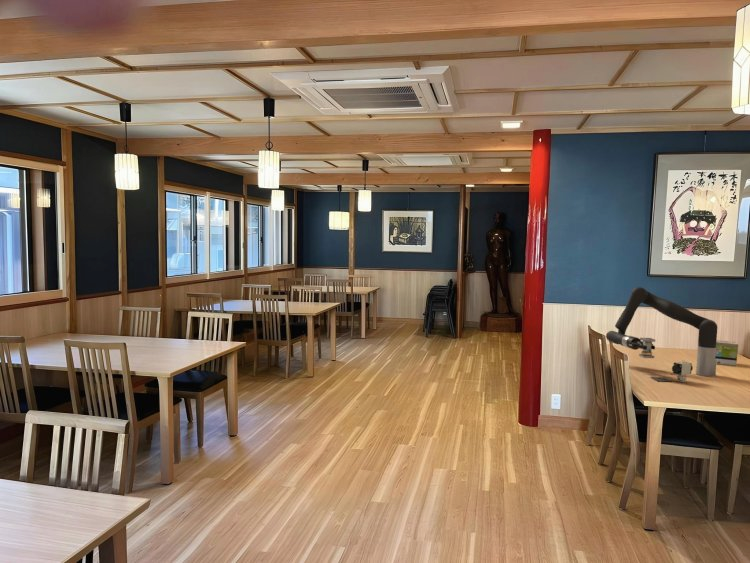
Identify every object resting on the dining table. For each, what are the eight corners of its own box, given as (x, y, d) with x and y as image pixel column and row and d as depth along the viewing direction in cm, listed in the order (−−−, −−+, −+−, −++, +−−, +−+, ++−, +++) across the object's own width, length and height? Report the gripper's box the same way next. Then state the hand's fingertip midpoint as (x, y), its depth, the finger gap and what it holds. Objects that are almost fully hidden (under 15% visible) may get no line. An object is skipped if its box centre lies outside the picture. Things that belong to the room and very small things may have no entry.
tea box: (710, 363, 359) (711, 341, 357) (707, 360, 368) (708, 339, 367) (736, 366, 353) (738, 343, 352) (733, 363, 362) (734, 341, 361)
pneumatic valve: (692, 381, 308) (693, 361, 307) (678, 383, 303) (679, 362, 302) (683, 379, 313) (684, 359, 312) (669, 381, 308) (670, 360, 307)
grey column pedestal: (649, 356, 322) (650, 337, 321) (654, 358, 316) (655, 339, 315) (639, 355, 322) (640, 337, 321) (644, 358, 316) (645, 339, 315)
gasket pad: (664, 378, 314) (664, 377, 314) (671, 381, 306) (671, 381, 306) (650, 378, 314) (650, 377, 314) (657, 381, 306) (657, 380, 306)
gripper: (621, 336, 331) (639, 341, 314) (642, 336, 334) (661, 341, 317) (620, 348, 332) (639, 354, 315) (641, 348, 334) (660, 353, 318)
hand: (650, 347), depth 316 cm, fingers closed on grey column pedestal, 4 cm apart
